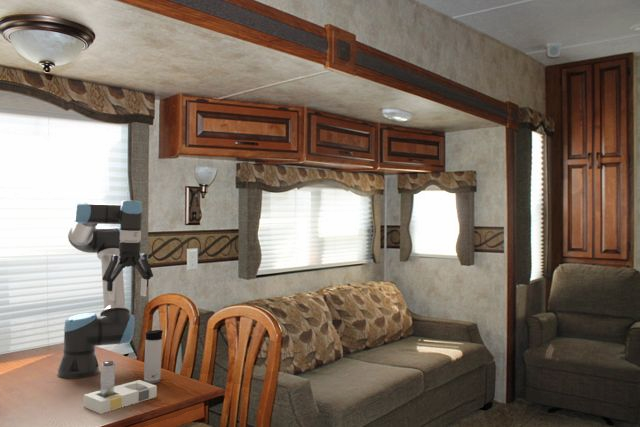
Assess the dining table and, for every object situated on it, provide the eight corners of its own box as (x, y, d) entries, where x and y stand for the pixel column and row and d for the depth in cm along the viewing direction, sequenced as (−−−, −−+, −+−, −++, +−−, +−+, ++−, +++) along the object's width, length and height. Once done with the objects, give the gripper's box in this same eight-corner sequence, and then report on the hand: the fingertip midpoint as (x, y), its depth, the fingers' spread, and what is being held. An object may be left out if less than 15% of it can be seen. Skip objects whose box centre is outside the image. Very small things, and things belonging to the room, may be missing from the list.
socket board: (83, 406, 185) (84, 394, 185) (139, 390, 203) (139, 379, 203) (101, 414, 179) (101, 401, 179) (156, 397, 197) (157, 385, 197)
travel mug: (156, 384, 211) (158, 332, 210) (140, 382, 212) (142, 331, 212) (164, 379, 217) (166, 329, 217) (148, 378, 218) (150, 327, 218)
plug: (97, 406, 186) (98, 362, 186) (108, 402, 189) (110, 359, 189) (104, 409, 183) (106, 364, 183) (116, 405, 187) (117, 362, 187)
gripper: (105, 243, 194) (103, 303, 194) (163, 241, 214) (161, 295, 214) (93, 241, 198) (91, 300, 199) (152, 239, 218) (149, 293, 219)
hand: (127, 297), depth 207 cm, fingers open, 13 cm apart
